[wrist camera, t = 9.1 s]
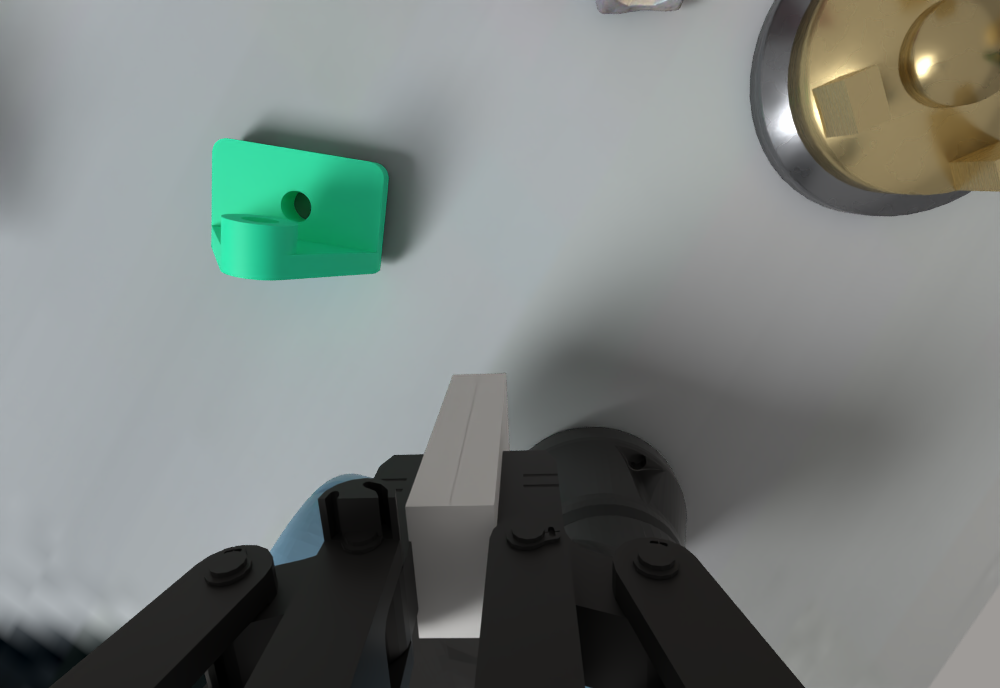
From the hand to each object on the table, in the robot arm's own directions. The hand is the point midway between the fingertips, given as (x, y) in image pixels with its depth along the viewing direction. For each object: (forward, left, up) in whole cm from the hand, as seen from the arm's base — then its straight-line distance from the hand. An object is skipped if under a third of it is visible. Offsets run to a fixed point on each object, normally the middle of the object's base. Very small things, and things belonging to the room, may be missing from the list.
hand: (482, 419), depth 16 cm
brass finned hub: (+5, -29, -26) cm, 39 cm away
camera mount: (+9, +13, -28) cm, 32 cm away
